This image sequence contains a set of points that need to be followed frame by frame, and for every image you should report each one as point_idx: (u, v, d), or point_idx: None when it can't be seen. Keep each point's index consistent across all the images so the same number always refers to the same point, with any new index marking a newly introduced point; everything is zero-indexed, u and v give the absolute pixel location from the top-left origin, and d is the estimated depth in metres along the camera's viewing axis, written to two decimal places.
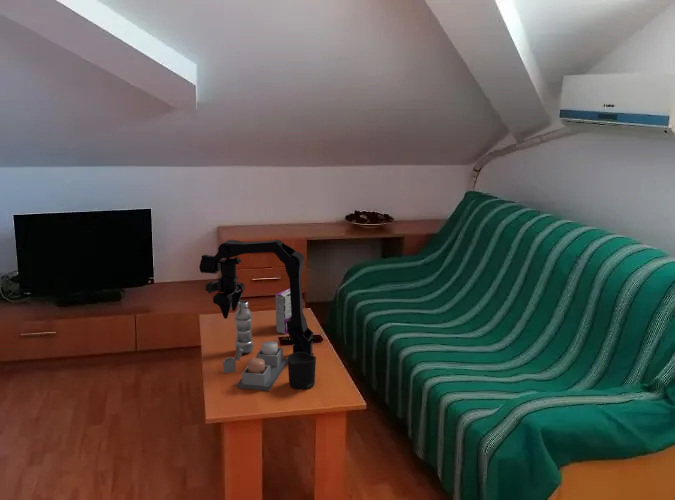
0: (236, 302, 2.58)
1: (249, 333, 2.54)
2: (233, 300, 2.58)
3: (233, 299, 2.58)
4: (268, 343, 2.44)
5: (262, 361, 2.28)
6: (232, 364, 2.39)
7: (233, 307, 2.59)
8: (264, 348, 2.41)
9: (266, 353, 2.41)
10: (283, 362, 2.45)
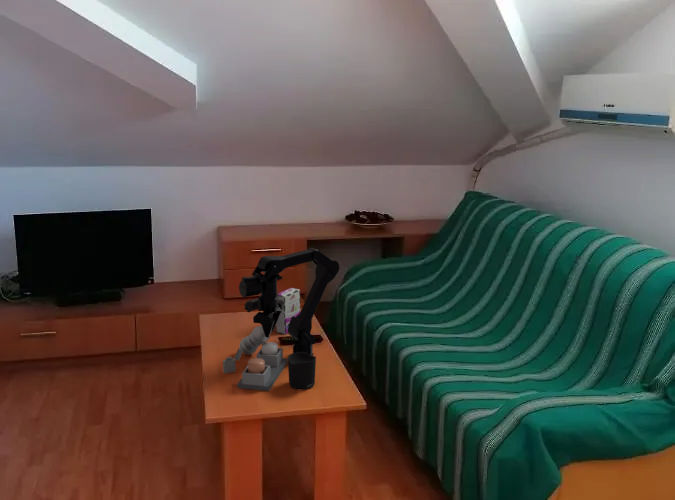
0: (274, 323, 2.44)
1: (258, 346, 2.50)
2: None
3: None
4: (268, 344, 2.44)
5: (262, 361, 2.28)
6: (232, 364, 2.39)
7: (271, 328, 2.45)
8: (264, 349, 2.41)
9: (266, 354, 2.42)
10: (283, 362, 2.45)
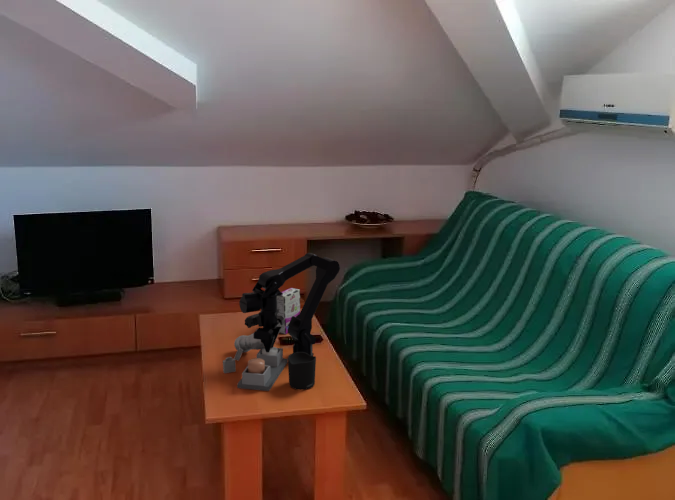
0: (274, 339, 2.45)
1: None
2: None
3: None
4: None
5: (262, 361, 2.28)
6: (232, 364, 2.39)
7: None
8: (264, 353, 2.42)
9: None
10: (283, 362, 2.45)
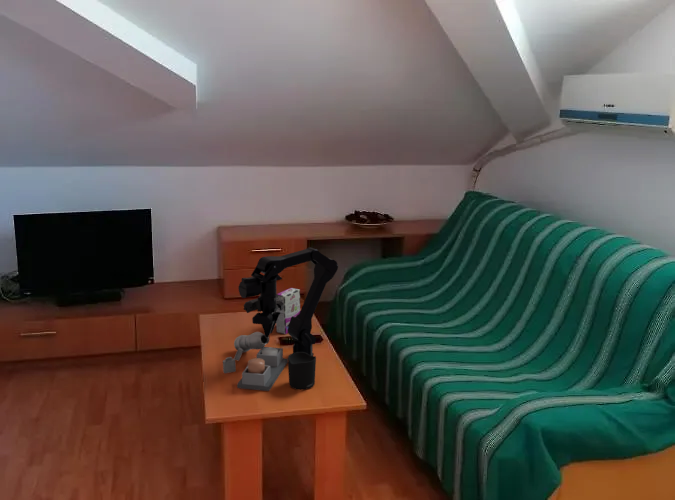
0: (273, 324, 2.43)
1: None
2: None
3: None
4: (268, 349, 2.45)
5: (262, 361, 2.28)
6: (232, 364, 2.39)
7: None
8: (264, 354, 2.42)
9: None
10: (283, 362, 2.45)
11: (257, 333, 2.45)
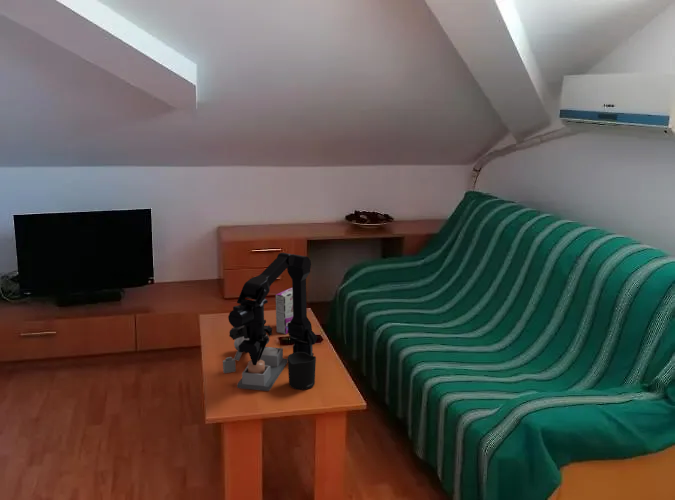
0: (261, 351, 2.29)
1: None
2: None
3: None
4: (268, 349, 2.45)
5: (262, 362, 2.28)
6: (232, 364, 2.39)
7: None
8: (264, 354, 2.42)
9: None
10: (283, 362, 2.45)
11: None
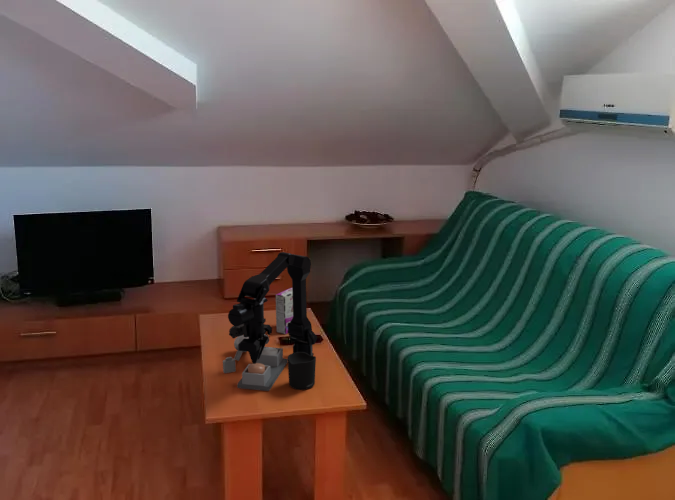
0: (260, 350, 2.29)
1: None
2: None
3: None
4: (268, 349, 2.45)
5: (262, 366, 2.29)
6: (232, 364, 2.39)
7: None
8: (264, 354, 2.42)
9: None
10: (283, 362, 2.45)
11: None
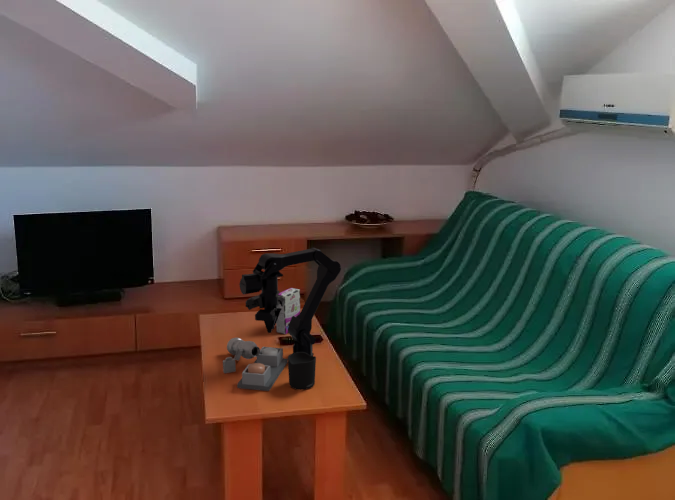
0: (274, 320, 2.44)
1: None
2: None
3: None
4: (268, 349, 2.45)
5: (262, 366, 2.29)
6: (232, 364, 2.39)
7: None
8: (264, 354, 2.42)
9: None
10: (283, 362, 2.45)
11: (244, 349, 2.41)
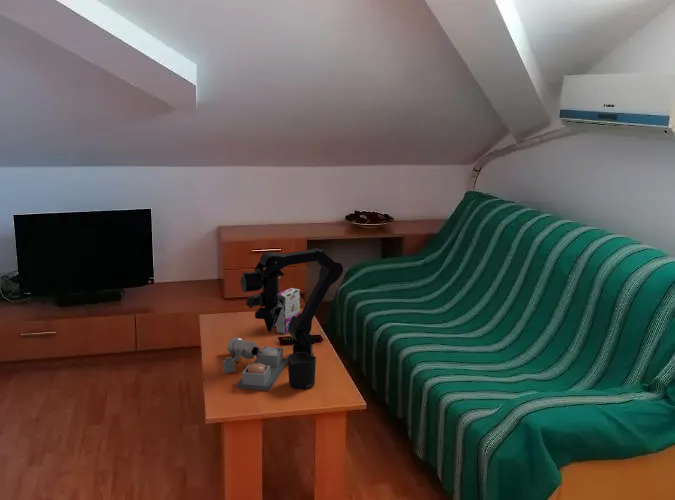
0: (275, 319, 2.45)
1: None
2: None
3: None
4: (268, 349, 2.45)
5: (262, 366, 2.29)
6: (232, 364, 2.39)
7: None
8: (264, 354, 2.42)
9: None
10: (283, 362, 2.45)
11: (244, 349, 2.41)
